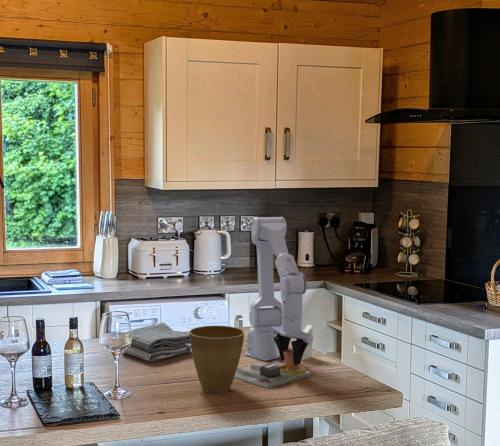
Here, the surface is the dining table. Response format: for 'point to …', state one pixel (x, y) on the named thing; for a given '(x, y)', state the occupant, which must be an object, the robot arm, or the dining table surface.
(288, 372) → the panel
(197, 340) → the plant pot
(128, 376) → the dining table surface
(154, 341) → the towel
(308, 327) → the white angled block
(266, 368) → the switch
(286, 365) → the cap
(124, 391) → the dining table surface
